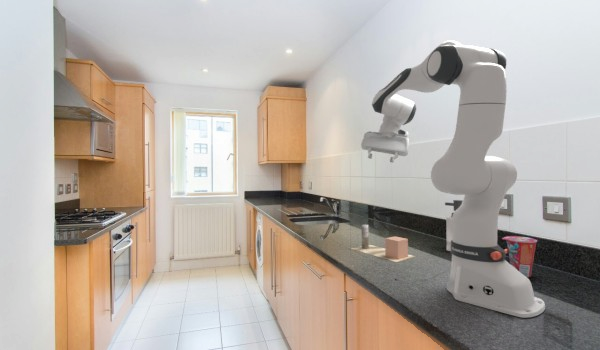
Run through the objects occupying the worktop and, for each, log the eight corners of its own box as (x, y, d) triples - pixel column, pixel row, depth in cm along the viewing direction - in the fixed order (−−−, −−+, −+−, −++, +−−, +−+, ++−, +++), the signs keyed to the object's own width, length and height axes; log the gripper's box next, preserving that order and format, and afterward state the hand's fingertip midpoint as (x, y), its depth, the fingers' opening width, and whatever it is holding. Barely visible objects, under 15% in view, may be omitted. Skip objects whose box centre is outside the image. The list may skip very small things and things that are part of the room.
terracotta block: (408, 256, 114) (407, 239, 114) (398, 259, 110) (398, 241, 110) (395, 253, 119) (394, 236, 118) (385, 256, 115) (385, 238, 115)
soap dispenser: (451, 247, 133) (450, 199, 132) (470, 251, 125) (469, 200, 125) (441, 249, 129) (441, 199, 129) (460, 253, 122) (460, 201, 122)
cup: (517, 269, 102) (517, 235, 102) (544, 277, 94) (543, 240, 94) (497, 272, 99) (497, 237, 99) (523, 280, 91) (523, 242, 91)
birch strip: (416, 259, 114) (415, 231, 114) (396, 265, 107) (396, 234, 107) (369, 247, 134) (369, 222, 134) (350, 251, 127) (350, 225, 127)
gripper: (365, 126, 132) (356, 151, 127) (412, 133, 124) (404, 160, 119) (366, 135, 137) (357, 159, 132) (411, 141, 129) (404, 167, 124)
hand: (380, 159), depth 125 cm, fingers open, 8 cm apart
